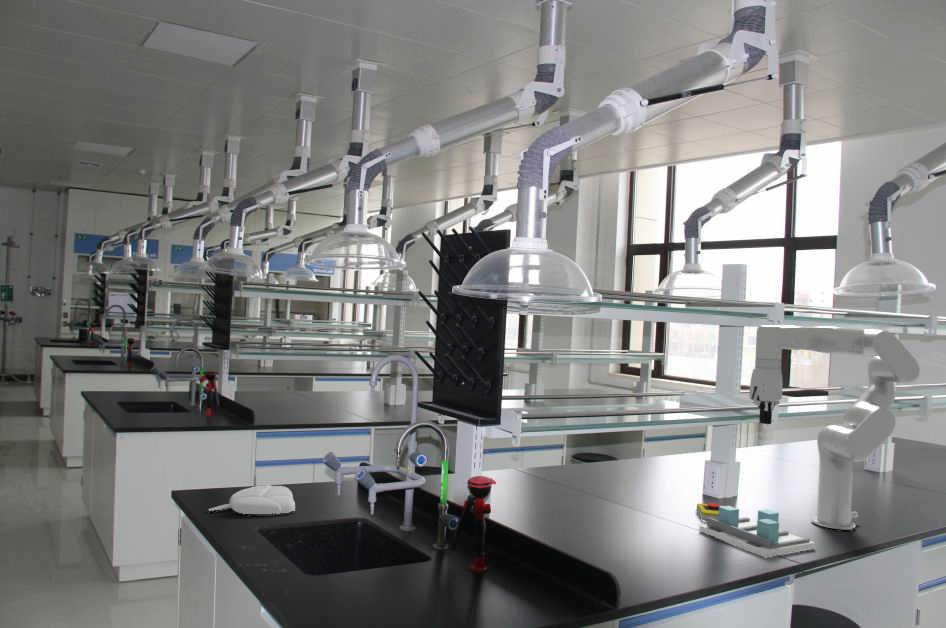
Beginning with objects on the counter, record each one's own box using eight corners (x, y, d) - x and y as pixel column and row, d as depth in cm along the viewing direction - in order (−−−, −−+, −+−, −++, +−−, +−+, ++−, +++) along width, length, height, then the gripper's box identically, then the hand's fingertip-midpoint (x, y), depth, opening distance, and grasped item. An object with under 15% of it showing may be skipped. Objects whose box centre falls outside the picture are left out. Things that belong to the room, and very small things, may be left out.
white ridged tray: (746, 525, 224) (746, 511, 224) (814, 549, 203) (815, 534, 203) (699, 532, 215) (699, 517, 215) (765, 558, 194) (766, 542, 194)
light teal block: (766, 527, 214) (767, 509, 214) (777, 531, 211) (778, 512, 211) (757, 529, 212) (758, 510, 212) (768, 533, 209) (769, 514, 209)
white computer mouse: (299, 515, 214) (210, 529, 204) (289, 501, 230) (206, 513, 220) (298, 493, 214) (209, 506, 204) (288, 480, 230) (205, 492, 220)
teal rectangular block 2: (766, 537, 204) (767, 518, 204) (778, 542, 200) (779, 522, 200) (756, 539, 202) (757, 520, 202) (768, 543, 199) (769, 524, 199)
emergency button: (724, 500, 238) (734, 513, 224) (723, 513, 238) (733, 527, 224) (695, 498, 240) (703, 510, 225) (694, 511, 240) (703, 524, 225)
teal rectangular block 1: (727, 523, 216) (728, 505, 216) (738, 527, 213) (739, 509, 213) (718, 525, 214) (718, 506, 214) (728, 529, 211) (729, 510, 211)
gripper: (774, 363, 231) (771, 420, 231) (741, 363, 224) (738, 422, 224) (794, 366, 224) (791, 424, 225) (761, 365, 217) (758, 426, 217)
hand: (765, 423), depth 224 cm, fingers closed
